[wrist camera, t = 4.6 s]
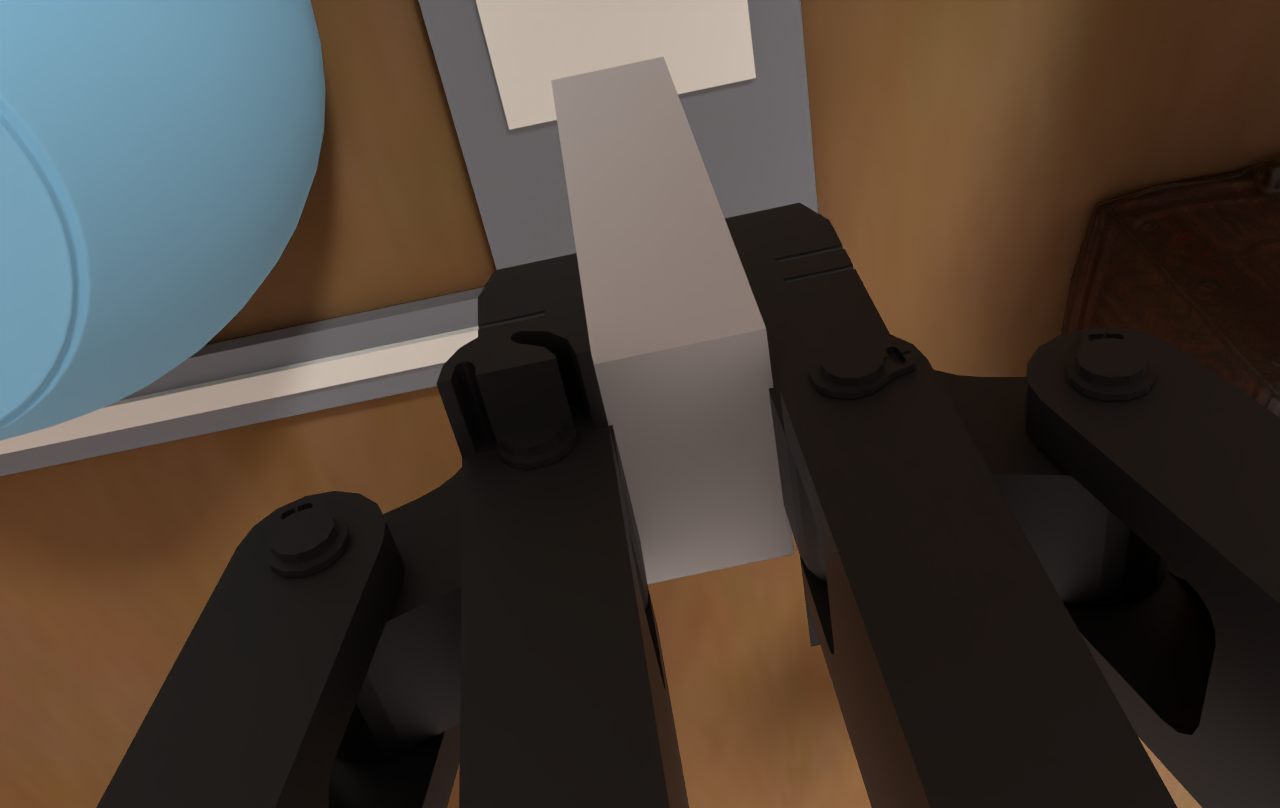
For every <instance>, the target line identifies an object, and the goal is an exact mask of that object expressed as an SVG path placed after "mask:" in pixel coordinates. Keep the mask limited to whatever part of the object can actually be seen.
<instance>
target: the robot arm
mask: <svg viewBox="0 0 1280 808" xmlns="http://www.w3.org/2000/svg"><path fill="white" fill-rule="evenodd" d="M551 82H552V89H553V96H554V103H555V110H556V116H557V123H558V130H559V137H560V144H561V151H562V157H563V164H564V171H565V178H566V185H567V192H568V198H569V205H570V212H571V219H572V226H573V232H574V239H575V246H576V253H574V254H569V255H565V256H560V257H555V258H551V259H546V260H541V261H536V262H532V263H527V264H522V265H517V266H513V267H508V268H503V269H499V270H495V272H494V273H493V275H492V276H491V278H490V279H489V281H488V283H487V284H486V286H485V287H484V289H483V290H482V292H481V293H480V295H479V296H478V327H479V330H478V337H477V338H476V339H474V340H472V341H470V342H469V343H467V344H465V345H464V346H462V347H460V348H459V349H458V350H457V351H456V352H455V353H454V354H453V355H452V356H451V357H450V358H449V359H448V360H447V361H446V363H445V364H444V365H443V366H442V369H441V372H440V375H439V378H438V381H437V383H436V384H437V387H438V389H439V392H440V395H441V398H442V401H443V404H444V407H445V409H446V412H447V415H448V418H449V421H450V424H451V427H452V429H453V432H454V435H455V438H456V441H457V444H458V446H459V449H460V452H461V455H462V468H461V469H460V470H459V471H458V472H457V473H456V474H455V475H454V476H453V477H452V478H450V479H449V480H448V481H446V482H445V483H444V484H442V485H441V486H440V487H439V488H437V489H435V490H433V491H431V492H430V493H428V494H426V495H424V496H422V497H420V498H418V499H416V500H414V501H412V502H410V503H407V504H405V505H403V506H401V507H399V508H396V509H394V510H392V511H390V512H387V513H385V514H382V512H381V510H380V508H379V506H378V504H377V503H375V502H373V501H371V500H370V499H368V498H366V497H364V496H363V495H361V494H357V493H348V492H338V491H332V492H327V493H321V494H316V495H310V496H306V497H303V498H301V499H299V500H296V501H294V502H292V503H290V504H287V505H285V506H283V507H280V508H278V509H277V510H275V511H274V512H273V513H271V514H270V515H269V516H267V517H266V518H264V519H263V520H262V521H260V522H259V523H258V524H256V525H255V526H254V527H253V528H252V529H251V531H250V532H249V533H248V534H247V536H246V537H245V538H244V539H243V541H242V542H241V543H240V545H239V546H238V547H237V549H236V550H235V552H234V554H233V556H232V558H231V560H230V562H229V563H228V565H227V567H226V569H225V571H224V573H223V575H222V576H221V578H220V580H219V582H218V584H217V586H216V587H215V589H214V591H213V593H212V595H211V597H210V599H209V600H208V602H207V604H206V606H205V608H204V610H203V612H202V613H201V615H200V617H199V619H198V621H197V623H196V624H195V626H194V628H193V630H192V632H191V634H190V636H189V637H188V639H187V641H186V643H185V645H184V647H183V649H182V650H181V652H180V654H179V656H178V658H177V660H176V662H175V663H174V665H173V667H172V669H171V671H170V673H169V674H168V676H167V678H166V680H165V682H164V684H163V686H162V687H161V689H160V691H159V693H158V695H157V697H156V699H155V700H154V702H153V704H152V706H151V708H150V710H149V711H148V713H147V715H146V717H145V719H144V721H143V723H142V724H141V726H140V728H139V730H138V732H137V734H136V736H135V737H134V739H133V741H132V743H131V745H130V747H129V749H128V750H127V752H126V754H125V756H124V758H123V760H122V761H121V763H120V765H119V767H118V769H117V771H116V773H115V774H114V776H113V778H112V780H111V782H110V784H109V786H108V787H107V789H106V791H105V793H104V795H103V797H102V798H101V800H100V802H99V804H98V806H97V808H447V805H448V802H449V798H450V795H451V791H452V787H453V784H454V780H455V777H456V773H457V769H458V766H459V762H460V795H459V808H689V805H688V799H687V793H686V788H685V782H684V776H683V770H682V765H681V759H680V753H679V747H678V742H677V736H676V730H675V725H674V719H673V713H672V707H671V702H670V696H669V690H668V684H667V679H666V673H665V667H664V662H663V656H662V650H661V644H660V639H659V633H658V627H657V623H656V618H655V614H654V610H653V606H652V602H651V598H650V594H649V590H648V584H652V583H657V582H662V581H667V580H671V579H676V578H681V577H686V576H691V575H695V574H700V573H705V572H710V571H715V570H719V569H724V568H729V567H734V566H739V565H744V564H748V563H753V562H758V561H763V560H768V559H772V558H777V557H782V556H787V555H792V554H794V546H793V538H792V532H793V535H794V538H795V541H796V544H797V547H798V550H799V554H800V560H801V568H802V576H803V584H804V592H805V600H806V609H807V617H808V625H809V633H810V641H811V646H816V645H821V647H822V651H823V654H824V657H825V660H826V663H827V666H828V670H829V673H830V676H831V679H832V682H833V686H834V689H835V692H836V695H837V698H838V701H839V705H840V708H841V711H842V714H843V717H844V721H845V724H846V727H847V730H848V733H849V737H850V740H851V743H852V746H853V749H854V752H855V756H856V759H857V762H858V765H859V768H860V772H861V775H862V778H863V781H864V784H865V788H866V791H867V794H868V797H869V800H870V803H871V807H872V808H1177V806H1176V804H1175V803H1174V801H1173V799H1172V797H1171V795H1170V794H1169V792H1168V790H1167V788H1166V786H1165V785H1164V783H1163V781H1162V779H1161V777H1160V776H1159V774H1158V772H1157V770H1156V768H1155V767H1154V765H1153V763H1152V761H1151V759H1150V758H1149V756H1148V754H1147V752H1146V751H1145V749H1144V747H1143V745H1142V743H1141V742H1140V740H1139V738H1140V739H1141V740H1142V741H1143V742H1144V743H1145V745H1146V746H1147V747H1148V748H1149V749H1150V750H1151V751H1152V752H1153V753H1154V755H1155V756H1156V757H1157V758H1158V759H1159V760H1160V761H1161V762H1162V763H1163V764H1164V766H1165V767H1166V768H1167V769H1168V770H1169V771H1170V772H1171V773H1172V774H1173V776H1174V777H1175V778H1176V779H1177V780H1178V781H1179V782H1180V783H1181V784H1182V785H1183V787H1184V788H1185V789H1186V790H1187V791H1188V792H1189V793H1190V794H1191V795H1192V797H1193V798H1194V799H1195V800H1196V801H1197V802H1198V803H1199V804H1200V805H1201V807H1202V808H1280V417H1278V416H1277V415H1275V414H1274V413H1272V412H1271V411H1270V410H1268V409H1267V408H1265V407H1264V406H1262V405H1261V404H1259V403H1258V402H1256V401H1255V400H1254V399H1252V398H1251V397H1249V396H1248V395H1246V394H1245V393H1243V392H1242V391H1241V390H1239V389H1238V388H1236V387H1235V386H1233V385H1232V384H1230V383H1229V382H1228V381H1226V380H1225V379H1223V378H1222V377H1220V376H1219V375H1217V374H1216V373H1215V372H1213V371H1212V370H1210V369H1209V368H1207V367H1206V366H1204V365H1203V364H1201V363H1200V362H1199V361H1197V360H1196V359H1194V358H1193V357H1191V356H1190V355H1188V354H1187V353H1186V352H1184V351H1183V350H1181V349H1180V348H1178V347H1177V346H1175V345H1172V344H1170V343H1168V342H1166V341H1164V340H1162V339H1160V338H1158V337H1156V336H1154V335H1152V334H1147V333H1142V332H1138V331H1133V330H1128V329H1123V328H1087V329H1083V330H1079V331H1075V332H1070V333H1066V334H1062V335H1059V336H1057V337H1056V338H1054V339H1052V340H1050V341H1049V342H1047V343H1045V344H1044V345H1042V346H1040V347H1038V349H1037V350H1036V352H1035V353H1034V355H1033V356H1032V358H1031V359H1030V361H1029V362H1028V363H1027V377H973V376H959V375H954V374H949V373H945V372H941V371H936V370H933V368H932V367H931V365H930V363H929V361H928V359H927V358H926V357H925V356H924V355H923V354H922V353H921V352H920V351H919V350H918V349H917V348H916V347H915V346H914V345H913V344H911V343H909V342H906V341H904V340H902V339H899V338H897V337H895V336H893V335H890V333H889V332H888V330H887V328H886V326H885V324H884V322H883V320H882V318H881V317H880V315H879V313H878V311H877V309H876V307H875V305H874V303H873V302H872V300H871V298H870V296H869V294H868V292H867V290H866V288H865V286H864V285H863V283H862V281H861V279H860V277H859V275H858V273H857V271H856V270H855V269H853V264H852V262H851V260H850V258H849V256H848V255H847V253H846V251H845V249H843V247H842V243H841V241H840V240H839V238H838V236H837V234H836V232H835V230H834V228H833V226H832V225H831V223H830V221H829V220H828V219H826V218H825V217H823V216H821V215H820V214H818V213H816V212H815V211H813V210H811V209H810V208H808V207H806V206H805V205H803V204H801V203H795V204H790V205H786V206H781V207H776V208H771V209H767V210H762V211H757V212H753V213H748V214H743V215H738V216H734V217H729V218H724V216H723V213H722V210H721V208H720V205H719V202H718V200H717V197H716V194H715V192H714V189H713V186H712V184H711V181H710V178H709V176H708V173H707V171H706V168H705V165H704V163H703V160H702V157H701V155H700V152H699V149H698V147H697V144H696V141H695V139H694V136H693V133H692V131H691V128H690V125H689V123H688V120H687V117H686V115H685V112H684V110H683V107H682V104H681V102H680V99H679V96H678V94H677V91H676V88H675V86H674V83H673V80H672V78H671V75H670V72H669V70H668V67H667V64H666V62H665V59H664V57H659V58H654V59H649V60H645V61H640V62H635V63H631V64H626V65H621V66H617V67H612V68H607V69H603V70H598V71H593V72H588V73H584V74H579V75H574V76H570V77H565V78H560V79H556V80H551ZM791 529H792V530H791ZM1138 737H1139V738H1138Z"/></svg>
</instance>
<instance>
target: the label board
mask: <svg viewBox="0 0 1280 808" xmlns="http://www.w3.org/2000/svg"><path fill="white" fill-rule="evenodd" d="M418 1H419V4H420V8H421V11H422V14H423V18H424V21H425V25H426V28H427V32H428V35H429V39H430V42H431V45H432V49H433V52H434V56H435V59H436V63H437V66H438V70H439V73H440V76H441V80H442V83H443V87H444V90H445V94H446V97H447V101H448V104H449V107H450V111H451V114H452V118H453V121H454V125H455V128H456V132H457V135H458V138H459V142H460V145H461V149H462V152H463V156H464V159H465V163H466V166H467V169H468V173H469V176H470V180H471V183H472V187H473V190H474V194H475V197H476V200H477V204H478V207H479V211H480V214H481V218H482V221H483V225H484V228H485V231H486V235H487V238H488V242H489V245H490V249H491V252H492V255H493V259H494V262H495V266H496V269H497V270H499V269H503V268H508V267H513V266H517V265H522V264H527V263H532V262H536V261H541V260H546V259H551V258H555V257H560V256H565V255H569V254H574V253H576V246H575V239H574V232H573V226H572V219H571V212H570V205H569V198H568V192H567V185H566V178H565V171H564V164H563V157H562V151H561V144H560V137H559V130H558V123H557V116H556V110H555V103H554V96H553V89H552V82H551V80H556V79H560V78H565V77H570V76H574V75H579V74H584V73H588V72H593V71H598V70H603V69H607V68H612V67H617V66H621V65H626V64H631V63H635V62H640V61H645V60H649V59H654V58H659V57H664V59H665V62H666V64H667V67H668V70H669V72H670V75H671V78H672V80H673V83H674V86H675V88H676V91H677V94H678V96H679V99H680V102H681V104H682V107H683V110H684V112H685V115H686V117H687V120H688V123H689V125H690V128H691V131H692V133H693V136H694V139H695V141H696V144H697V147H698V149H699V152H700V155H701V157H702V160H703V163H704V165H705V168H706V171H707V173H708V176H709V178H710V181H711V184H712V186H713V189H714V192H715V194H716V197H717V200H718V202H719V205H720V208H721V210H722V213H723V216H724V218H729V217H734V216H738V215H743V214H748V213H753V212H757V211H762V210H767V209H771V208H776V207H781V206H786V205H790V204H795V203H801V204H803V205H805V206H806V207H808V208H810V209H811V210H813V211H815V212H816V213H818V206H817V194H816V182H815V170H814V158H813V146H812V134H811V122H810V110H809V98H808V86H807V74H806V62H805V50H804V37H803V25H802V13H801V1H800V0H418ZM483 289H484V287H482V288H477V289H472V290H467V291H462V292H458V293H453V294H448V295H443V296H438V297H434V298H429V299H424V300H419V301H414V302H410V303H405V304H400V305H395V306H390V307H386V308H381V309H376V310H371V311H366V312H362V313H357V314H352V315H347V316H342V317H338V318H333V319H328V320H323V321H318V322H314V323H309V324H304V325H299V326H294V327H290V328H285V329H280V330H275V331H270V332H265V333H261V334H256V335H251V336H246V337H241V338H237V339H232V340H227V341H222V342H217V343H213V344H208V345H205V346H204V347H203V348H202V349H200V350H199V351H198V352H197V353H195V354H194V355H192V356H191V357H189V358H188V359H187V360H185V361H184V362H182V363H181V364H179V365H178V366H176V367H175V368H174V369H172V370H171V371H169V372H168V373H166V374H165V375H163V376H162V377H160V378H159V379H157V380H156V381H154V382H153V383H151V384H150V385H148V386H147V387H145V388H143V389H141V390H139V391H137V392H135V393H133V394H131V395H129V396H127V397H125V398H123V399H121V400H119V401H117V402H115V403H113V404H110V405H108V406H105V407H103V408H101V409H98V410H96V411H93V412H91V413H88V414H86V415H83V416H80V417H77V418H75V419H72V420H69V421H66V422H63V423H61V424H58V425H55V426H52V427H48V428H45V429H41V430H38V431H34V432H31V433H27V434H24V435H20V436H16V437H12V438H9V439H5V440H1V441H0V476H5V475H10V474H14V473H19V472H24V471H29V470H34V469H39V468H43V467H48V466H53V465H58V464H63V463H68V462H72V461H77V460H82V459H87V458H92V457H97V456H101V455H106V454H111V453H116V452H121V451H126V450H130V449H135V448H140V447H145V446H150V445H155V444H159V443H164V442H169V441H174V440H179V439H183V438H188V437H193V436H198V435H203V434H208V433H212V432H217V431H222V430H227V429H232V428H237V427H241V426H246V425H251V424H256V423H261V422H266V421H270V420H275V419H280V418H285V417H290V416H295V415H299V414H304V413H309V412H314V411H319V410H323V409H328V408H333V407H338V406H343V405H348V404H352V403H357V402H362V401H367V400H372V399H377V398H381V397H386V396H391V395H396V394H401V393H406V392H410V391H415V390H420V389H425V388H430V387H435V386H437V384H436V383H437V381H438V378H439V375H440V372H441V369H442V366H443V365H444V364H445V363H446V361H447V360H448V359H449V358H450V357H451V356H452V355H453V354H454V353H455V352H456V351H457V350H458V349H459V348H460V347H462V346H464V345H465V344H467V343H469V342H470V341H472V340H474V339H476V338H477V337H478V330H479V327H478V296H479V295H480V293H481V292H482V290H483Z"/></svg>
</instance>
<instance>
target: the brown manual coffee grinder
mask: <svg viewBox="0 0 1280 808" xmlns="http://www.w3.org/2000/svg"><path fill="white" fill-rule="evenodd" d="M1087 328H1123V329H1128V330H1133V331H1138V332H1142V333H1147V334H1152V335H1154V336H1156V337H1158V338H1160V339H1162V340H1164V341H1166V342H1168V343H1170V344H1172V345H1175V346H1177V347H1178V348H1180V349H1181V350H1183V351H1184V352H1186V353H1187V354H1188V355H1190V356H1191V357H1193V358H1194V359H1196V360H1197V361H1199V362H1200V363H1201V364H1203V365H1204V366H1206V367H1207V368H1209V369H1210V370H1212V371H1213V372H1215V373H1216V374H1217V375H1219V376H1220V377H1222V378H1223V379H1225V380H1226V381H1228V382H1229V383H1230V384H1232V385H1233V386H1235V387H1236V388H1238V389H1239V390H1241V391H1242V392H1243V393H1245V394H1246V395H1248V396H1249V397H1251V398H1252V399H1254V400H1255V401H1256V402H1258V403H1259V404H1261V405H1262V406H1264V407H1265V408H1267V409H1268V410H1270V411H1271V412H1272V413H1274V414H1275V415H1277V416H1278V417H1280V160H1279V161H1274V162H1269V163H1264V164H1258V165H1252V166H1249V167H1247V168H1244V169H1242V170H1239V171H1236V172H1230V173H1225V174H1219V175H1213V176H1207V177H1201V178H1195V179H1189V180H1183V181H1178V182H1172V183H1166V184H1161V185H1158V186H1155V187H1151V188H1148V189H1145V190H1142V191H1138V192H1135V193H1132V194H1128V195H1125V196H1122V197H1119V198H1115V199H1112V200H1109V201H1105V202H1102V203H1099V204H1096V207H1095V210H1094V213H1093V216H1092V219H1091V222H1090V225H1089V228H1088V231H1087V234H1086V237H1085V240H1084V243H1083V246H1082V249H1081V252H1080V255H1079V258H1078V261H1077V264H1076V267H1075V270H1074V273H1073V276H1072V280H1071V285H1070V291H1069V296H1068V301H1067V307H1066V312H1065V317H1064V323H1063V328H1062V333H1061V335H1062V334H1066V333H1070V332H1075V331H1079V330H1083V329H1087Z"/></svg>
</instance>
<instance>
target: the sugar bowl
mask: <svg viewBox="0 0 1280 808" xmlns="http://www.w3.org/2000/svg"><path fill="white" fill-rule="evenodd" d="M325 93H326V87H325V78H324V68H323V58H322V49H321V42H320V38H319V34H318V30H317V26H316V22H315V17H314V13H313V9H312V5H311V1H310V0H0V441H1V440H5V439H9V438H12V437H16V436H20V435H24V434H27V433H31V432H34V431H38V430H41V429H45V428H48V427H52V426H55V425H58V424H61V423H63V422H66V421H69V420H72V419H75V418H77V417H80V416H83V415H86V414H88V413H91V412H93V411H96V410H98V409H101V408H103V407H105V406H108V405H110V404H113V403H115V402H117V401H119V400H121V399H123V398H125V397H127V396H129V395H131V394H133V393H135V392H137V391H139V390H141V389H143V388H145V387H147V386H148V385H150V384H151V383H153V382H154V381H156V380H157V379H159V378H160V377H162V376H163V375H165V374H166V373H168V372H169V371H171V370H172V369H174V368H175V367H176V366H178V365H179V364H181V363H182V362H184V361H185V360H187V359H188V358H189V357H191V356H192V355H194V354H195V353H197V352H198V351H199V350H200V349H202V348H203V347H204V346H205V345H206V344H207V343H208V342H209V341H210V340H211V339H212V338H213V337H214V336H215V335H216V334H217V333H218V332H219V331H221V330H222V329H223V328H224V327H225V326H226V325H227V324H228V323H229V322H230V321H231V320H232V319H233V318H234V317H235V316H236V315H237V314H238V312H239V311H240V310H241V309H242V308H243V307H244V306H245V305H246V303H247V302H248V301H249V299H250V298H251V297H252V296H253V294H254V293H255V292H256V290H257V289H258V288H259V286H260V285H261V284H262V283H263V281H264V280H265V279H266V277H267V276H268V274H269V273H270V272H271V270H272V269H273V267H274V266H275V265H276V263H277V262H278V260H279V259H280V257H281V255H282V253H283V251H284V249H285V248H286V246H287V244H288V242H289V240H290V238H291V236H292V235H293V233H294V231H295V229H296V227H297V225H298V222H299V219H300V216H301V214H302V211H303V208H304V205H305V202H306V199H307V197H308V194H309V191H310V188H311V185H312V182H313V180H314V177H315V174H316V171H317V166H318V161H319V155H320V150H321V145H322V139H323V134H324V120H325Z"/></svg>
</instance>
